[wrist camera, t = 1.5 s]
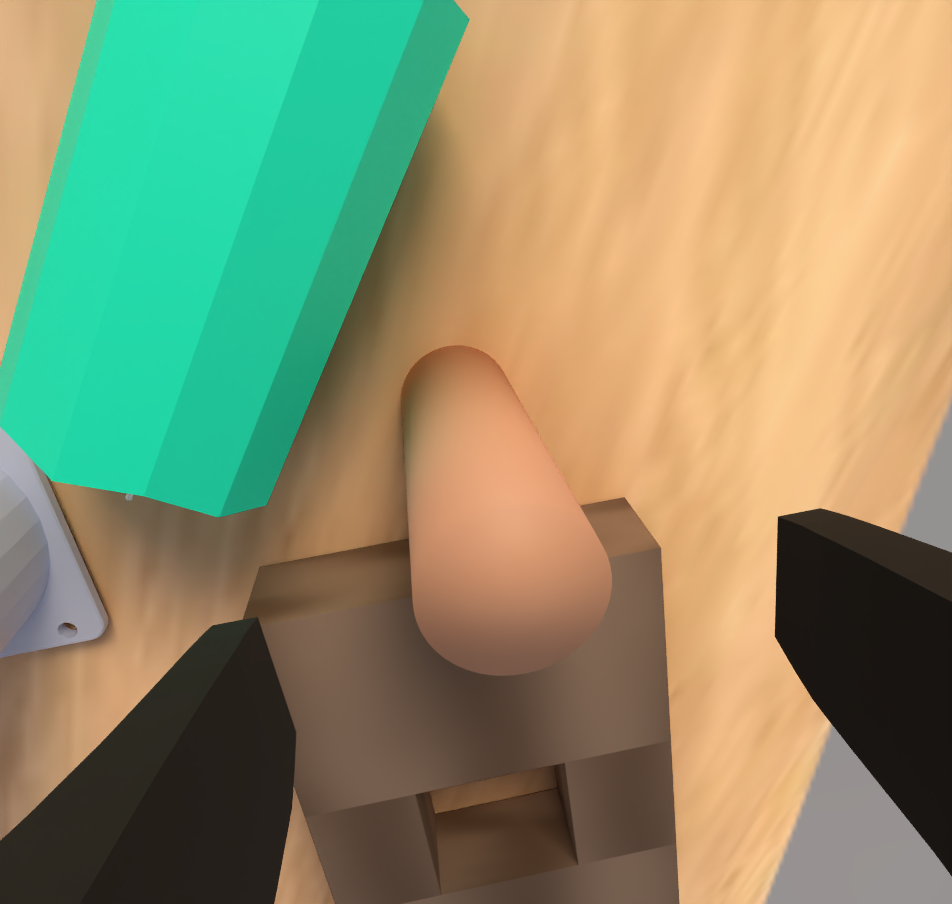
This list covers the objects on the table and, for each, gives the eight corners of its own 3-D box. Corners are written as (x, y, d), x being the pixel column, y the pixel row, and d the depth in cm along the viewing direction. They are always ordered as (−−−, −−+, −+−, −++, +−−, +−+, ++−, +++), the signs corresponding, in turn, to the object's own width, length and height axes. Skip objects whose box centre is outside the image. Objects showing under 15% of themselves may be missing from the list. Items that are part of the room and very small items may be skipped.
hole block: (383, 951, 27) (382, 1040, 24) (259, 567, 20) (239, 630, 17) (653, 892, 28) (683, 971, 25) (624, 497, 21) (660, 547, 18)
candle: (527, 64, 13) (304, 560, 17) (340, -1, 16) (182, 434, 20) (283, -165, 8) (39, 604, 12) (75, -200, 11) (-73, 428, 15)
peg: (412, 458, 20) (431, 692, 11) (391, 356, 18) (394, 525, 10) (516, 439, 20) (618, 654, 11) (502, 336, 18) (604, 485, 10)
